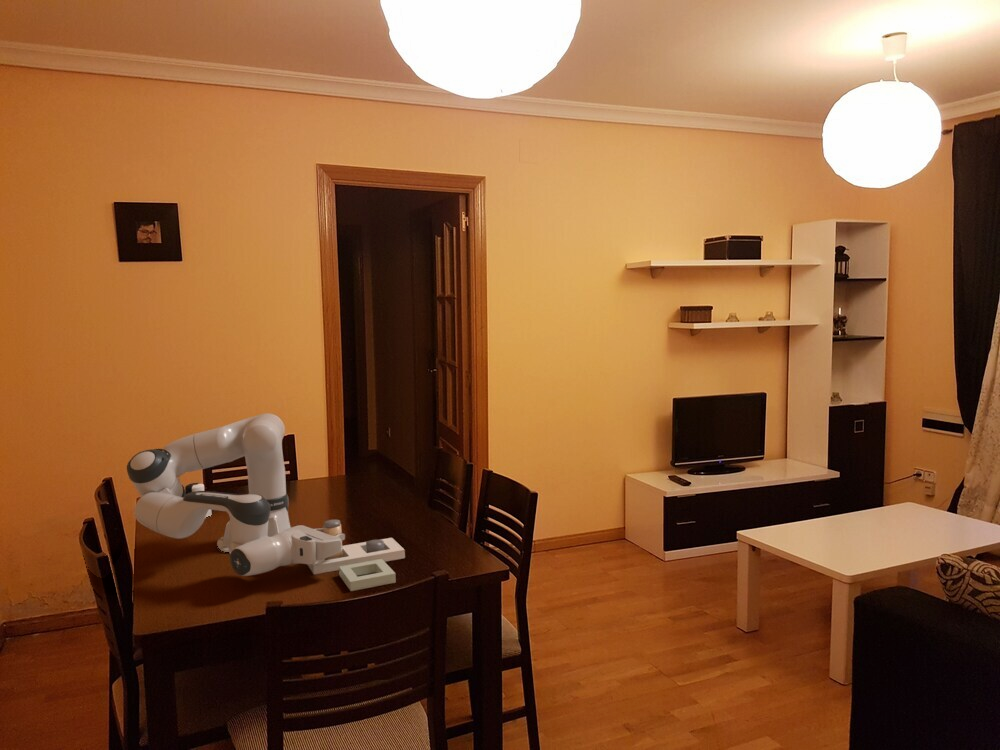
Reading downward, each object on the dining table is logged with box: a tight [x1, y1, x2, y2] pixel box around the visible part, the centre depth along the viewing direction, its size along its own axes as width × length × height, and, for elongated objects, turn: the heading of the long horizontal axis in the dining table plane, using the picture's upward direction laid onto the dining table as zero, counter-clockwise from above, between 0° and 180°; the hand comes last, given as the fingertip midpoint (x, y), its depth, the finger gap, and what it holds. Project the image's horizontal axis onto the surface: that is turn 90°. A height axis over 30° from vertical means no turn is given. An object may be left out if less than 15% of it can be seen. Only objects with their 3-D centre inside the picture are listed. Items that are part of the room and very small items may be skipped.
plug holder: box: [338, 559, 397, 592], centre depth 192 cm, size 12×12×2 cm
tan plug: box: [322, 519, 343, 561], centre depth 203 cm, size 5×5×12 cm
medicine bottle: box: [184, 482, 213, 519], centre depth 248 cm, size 7×7×12 cm
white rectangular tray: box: [306, 537, 406, 575], centre depth 206 cm, size 26×12×4 cm, turn 116°
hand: (335, 533), depth 204 cm, fingers open, 6 cm apart
